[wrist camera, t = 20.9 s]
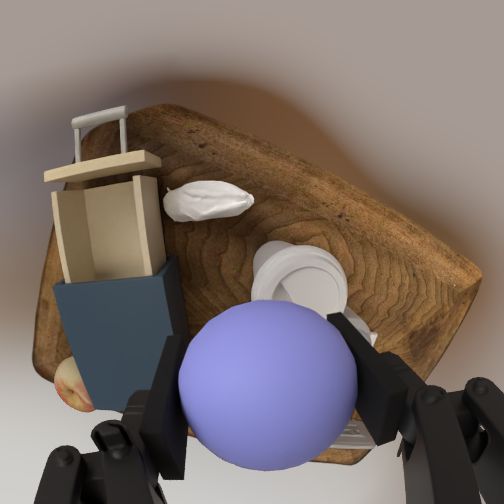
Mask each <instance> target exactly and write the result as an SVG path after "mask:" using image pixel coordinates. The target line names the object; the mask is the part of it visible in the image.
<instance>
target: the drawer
mask: <svg viewBox="0 0 504 504" xmlns="http://www.w3.org/2000/svg"><path fill="white" fill-rule="evenodd" d="M127 117H128V108H127V106H126V105H125V106H120V107H116V108H112V109H107V110H103V111H99V112H95V113H91V114H87V115H83V116H80V117H76V118H73V119H72V127H73V129H74V130H75V156H76V164H72V165H68V166H64V167H60V168H56V169H52V170H49V171H45V172H44V180H45V182H81V181H85V180H90V179H95V178H100V177H105V176H111V175H116V174H122V173H128V172H134V171H140V170H146V169H153V168H159V167H162V166H161V158H159V157H157V156H155V155H153V154H151V153H149V152H147V151H145V150H140V151H134V152H128V153H127V136H126V118H127ZM118 119H120V138H121V154H118V155H112V156H108V157H103V158H98V159H93V160H89V161H84V162H82V156H81V128H84V127H88V126H92V125H96V124H100V123H105V122H109V121H113V120H118ZM51 194H52V195H51V196H52V204H53V213H54V222H55V229H56V235H57V242H58V248H59V253H60V259H61V264H62V269H63V273H64V278H65V283H76V282H87V281H99V280H110V279H120V278H131V277H141V276H152V275H157V274H158V273H159V271H160V270H161V268H162V267H163V266H164V264H165V263H166V261H167V260H166V253H165V246H164V239H163V231H162V223H161V214H160V206H159V196H158V186H157V178H154V177H148V176H142V175H138V176H133V181H130V182H124V183H118V184H113V185H107V186H102V187H96V188H91V189H86V190H72V191H56V192H52V193H51Z"/></svg>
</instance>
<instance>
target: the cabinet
mask: <svg viewBox="0 0 504 504" xmlns="http://www.w3.org/2000/svg"><path fill="white" fill-rule="evenodd" d="M166 260H167V261H166V263H165V264H164V266H163V267H162V268H161V270H160V271H159V273H158V274H157V275H152V276H141V277H131V278H120V279H110V280H99V281H87V282H76V283H65V279H63V280H62V281H60V282H58V283H57V284H55V285H54V286H53V290H54V294H55V298H56V302H57V306H58V310H59V313H60V317H61V320H62V323H63V327H64V330H65V333H66V336H67V339H68V342H69V345H70V348H71V351H72V354H73V357H74V360H75V362H76V365H77V368H78V370H79V373H80V375H81V378H82V380H83V383H84V385H85V388H86V390H87V392H88V395H89V397H90V399H91V402H92V404H93V406H94V408H95V409H98V410H113V411H125V408H126V405H127V402H128V400H129V397H130V396H131V395H132V394H133V393H134V392H135V391H136V390H150V389H151V386H152V383H153V379H154V376H155V373H156V370H157V366H158V363H159V360H160V357H161V354H162V351H163V348H164V344H165V341H166V338H167V336H171V335H183V339H184V343H185V348H186V351H187V349H188V346H189V344H190V342H191V337H190V332H189V327H188V321H187V315H186V310H185V304H184V298H183V292H182V285H181V279H180V272H179V265H178V258H177V254H174V255H166Z"/></svg>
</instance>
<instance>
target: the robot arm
mask: <svg viewBox="0 0 504 504" xmlns="http://www.w3.org/2000/svg"><path fill="white" fill-rule="evenodd" d="M327 321H328V322H330V323H331V324H332V325H333V326H334V327H335V328H337V329H338V330H339V331H340V333H341V335H342V337H343V338H344V340H345V342H346V344H347V346H348V347H349V349H350V351H351V353H352V355H353V357H354V359H355V363H356V367H357V382H358V397H357V400H356V404H355V409H356V410H357V412H358V414H359V416H360V417H361V419H362V421H363V422H364V424H365V426H366V427H367V429H368V431H369V433H370V434H371V436H372V438H373V439H374V441H375V443H376V445H377V446H380V445H383V444H385V443H388V442H390V441H394V440H395V439H396V435H397V432H398V430H399V432H400V433H401V435H402V436H403V438H402V441H401V444H400V447H399V450H398V453H397V457H399V456H400V454H401V451H402V459H403V468H404V479H405V491H406V504H482V503H481V499H480V494H481V495H482V497H483V499H484V501H485V502H486V504H504V393H503V392H502V391H501V390H500V389H499V388H498V387H497V386H496V385H495V384H494V383H493V382H492V381H490V380H489V379H486V378H483V377H476V378H472V379H470V380H469V381H468V382H467V384H466V386H465V389H464V390H461V391H455V392H449V393H447V392H446V390H444V389H443V388H441V387H438V386H435V385H428V386H427V385H426V384H425V383H424V381H423V380H422V379H421V378H420V377H419V376H418V375H417V374H416V373H415V372H414V371H413V370H412V369H410V367H409V366H408V365H407V364H405V362H404V361H403V360H402V359H401V358H400V357H399V356H398V355H396V354H394V353H391V352H389V351H388V352H385V353H381V354H379V353H378V352H377V351H376V350H375V349H374V348H373V346H372V345H371V344H370V343H369V342H368V341H367V340H366V339H365V338H364V337H363V335H362V334H361V333H360V332H359V331H358V330H357V329H356V328H355V327H354V326H353V324H352V323H351V322H350V321H349V320H348V319H347V318H346V317H345V316H344V315H343V314H342V312H337V313H331V314H327ZM185 354H186V348H185V343H184V339H183V335H171V336H167V338H166V341H165V344H164V348H163V351H162V354H161V357H160V360H159V363H158V366H157V370H156V373H155V376H154V379H153V383H152V386H151V389H150V390H136V391H135V392H134V393H133V394H132V395H131V396H130V397H129V400H128V402H127V405H126V408H125V411H124V414H123V416H122V419H121V421H119V420H107V421H104V422H101V423H100V424H98V425H97V426H95V428H94V429H93V430H92V432H91V438H92V440H93V441H94V443H95V445H96V446H97V448H98V449H99V451H98V452H92V453H86V454H80V453H79V451H78V449H76V448H75V447H73V446H68V445H66V446H60V447H58V448H56V449H54V450H53V451H52V452H51V454H50V455H49V457H48V460H47V463H46V466H45V469H44V472H43V475H42V478H41V481H40V484H39V487H38V491H37V494H36V497H35V501H34V504H167V502H166V499H165V496H164V494H163V491H162V488H161V486H160V485H159V483H158V476H159V473H160V474H161V476H162V478H163V479H164V480H184V472H185V459H186V447H187V436H188V425H189V424H188V422H187V421H186V419H185V417H184V415H183V413H182V410H181V406H180V398H179V383H178V380H179V371H180V368H181V365H182V362H183V360H184V357H185ZM481 425H482V426H483V428H484V429H485V430H483V429H482V428H481V427H480V426H481ZM479 492H480V494H479Z"/></svg>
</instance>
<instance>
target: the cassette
mask: <svg viewBox="0 0 504 504" xmlns="http://www.w3.org/2000/svg"><path fill="white" fill-rule="evenodd" d="M375 446H376V444H375V443H374V441H373V439H372V438H371V436H370V434H369V433H368V431H367V429H366V428H365V426H364V424H363V423H362V421H356V420H355V419H350V421H349V423H348V425H347V426H346V428H345V430H344V431H343V432H342V434H341V435H340V436H339V437H338V439H337V440H336V441H335V442H334V444H332V445H331V446H330V447H329V448H345V449H373V448H374V447H375Z"/></svg>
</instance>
